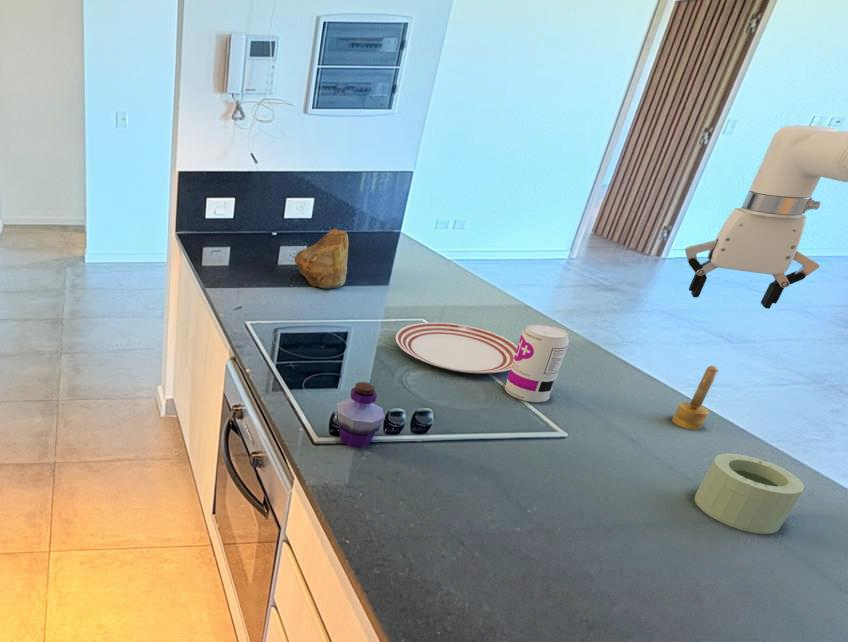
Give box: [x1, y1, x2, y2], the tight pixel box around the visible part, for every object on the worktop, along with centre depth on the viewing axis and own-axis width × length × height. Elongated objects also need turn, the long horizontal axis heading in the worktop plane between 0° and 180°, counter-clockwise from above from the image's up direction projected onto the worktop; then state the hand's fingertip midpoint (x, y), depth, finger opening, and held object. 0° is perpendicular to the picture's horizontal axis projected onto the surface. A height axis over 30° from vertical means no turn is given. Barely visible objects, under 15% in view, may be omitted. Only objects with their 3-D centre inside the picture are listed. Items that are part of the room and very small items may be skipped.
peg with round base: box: [671, 365, 719, 431], centre depth 117 cm, size 4×4×13 cm
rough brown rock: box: [294, 228, 350, 290], centre depth 195 cm, size 23×17×15 cm
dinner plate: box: [395, 321, 518, 375], centre depth 147 cm, size 27×27×3 cm
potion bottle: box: [336, 381, 386, 449], centre depth 112 cm, size 9×9×12 cm
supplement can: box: [504, 323, 570, 403], centre depth 127 cm, size 8×8×15 cm
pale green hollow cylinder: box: [694, 453, 805, 535], centre depth 95 cm, size 10×10×8 cm
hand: (728, 300), depth 111 cm, fingers open, 9 cm apart
